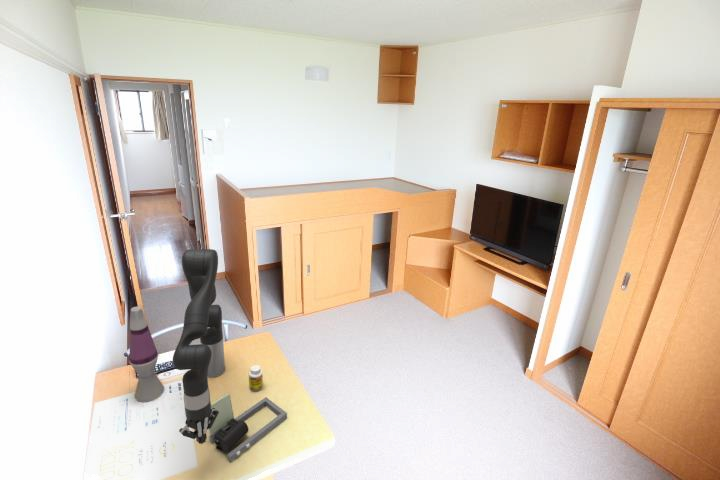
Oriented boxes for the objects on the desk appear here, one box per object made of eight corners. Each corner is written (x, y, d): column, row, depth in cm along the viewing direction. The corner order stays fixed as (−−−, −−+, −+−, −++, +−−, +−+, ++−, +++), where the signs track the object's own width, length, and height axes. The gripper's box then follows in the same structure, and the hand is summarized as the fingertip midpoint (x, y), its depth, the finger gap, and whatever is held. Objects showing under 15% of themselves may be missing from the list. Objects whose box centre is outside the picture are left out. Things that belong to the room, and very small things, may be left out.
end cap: (229, 457, 130) (228, 443, 128) (214, 449, 133) (212, 434, 131) (249, 436, 139) (248, 422, 137) (234, 428, 142) (233, 415, 139)
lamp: (162, 399, 153) (149, 314, 139) (132, 404, 149) (116, 317, 135) (165, 381, 162) (153, 299, 148) (137, 385, 158) (122, 303, 144)
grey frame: (209, 441, 136) (209, 436, 135) (266, 401, 155) (266, 396, 154) (231, 463, 128) (231, 458, 128) (288, 418, 148) (288, 413, 147)
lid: (211, 437, 134) (209, 436, 135) (234, 421, 142) (232, 419, 142) (205, 409, 131) (203, 407, 132) (229, 393, 139) (227, 392, 139)
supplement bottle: (249, 392, 159) (248, 373, 156) (249, 383, 164) (248, 364, 161) (262, 391, 160) (262, 371, 157) (262, 382, 165) (262, 363, 162)
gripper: (209, 383, 125) (213, 423, 131) (170, 406, 115) (176, 448, 121) (223, 394, 121) (226, 435, 127) (183, 419, 111) (188, 462, 117)
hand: (201, 441), depth 124 cm, fingers closed
